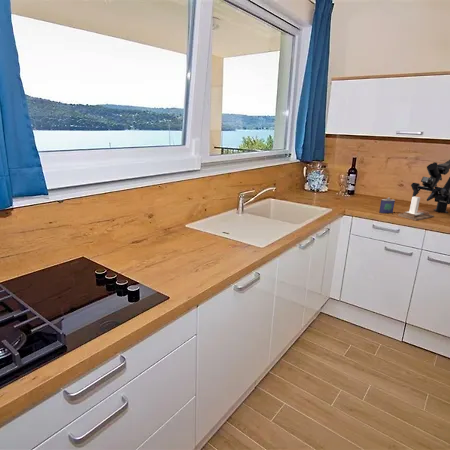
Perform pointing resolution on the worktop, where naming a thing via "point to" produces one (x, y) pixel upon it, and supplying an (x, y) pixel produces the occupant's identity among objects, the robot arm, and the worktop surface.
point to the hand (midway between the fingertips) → (419, 199)
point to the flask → (386, 206)
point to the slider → (414, 206)
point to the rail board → (418, 217)
